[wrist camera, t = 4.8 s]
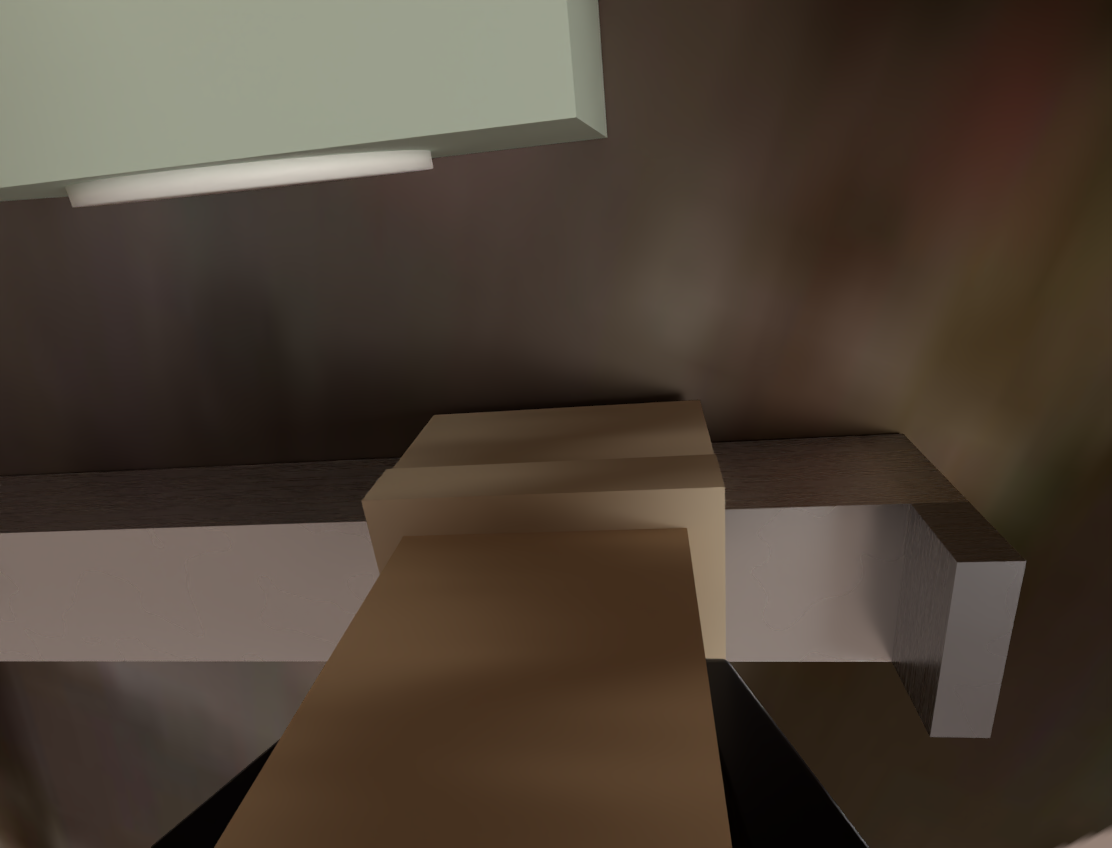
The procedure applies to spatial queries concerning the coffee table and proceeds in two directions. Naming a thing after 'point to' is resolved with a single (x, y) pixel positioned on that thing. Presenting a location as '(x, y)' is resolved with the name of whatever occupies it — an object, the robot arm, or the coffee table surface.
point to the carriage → (521, 647)
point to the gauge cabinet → (281, 91)
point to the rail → (351, 571)
